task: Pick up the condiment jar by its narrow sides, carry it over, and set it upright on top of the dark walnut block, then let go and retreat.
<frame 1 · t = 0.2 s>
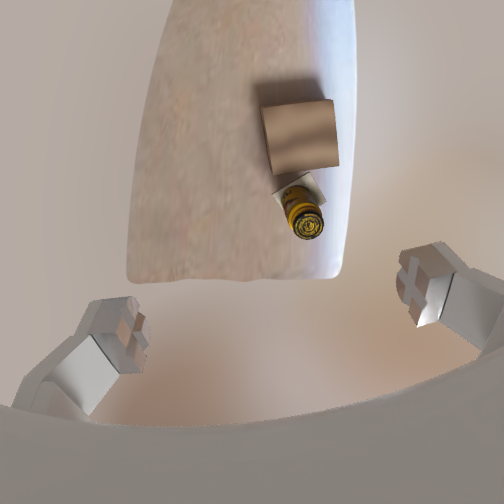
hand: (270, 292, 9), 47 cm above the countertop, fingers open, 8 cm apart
condiment: (299, 197, 58), on the countertop
walnut block: (297, 132, 51), on the countertop
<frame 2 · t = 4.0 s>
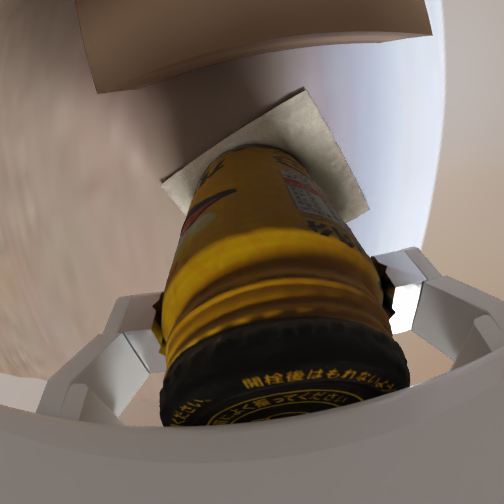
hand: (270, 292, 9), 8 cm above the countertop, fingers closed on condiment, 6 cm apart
condiment: (269, 192, 15), on the countertop, touching gripper
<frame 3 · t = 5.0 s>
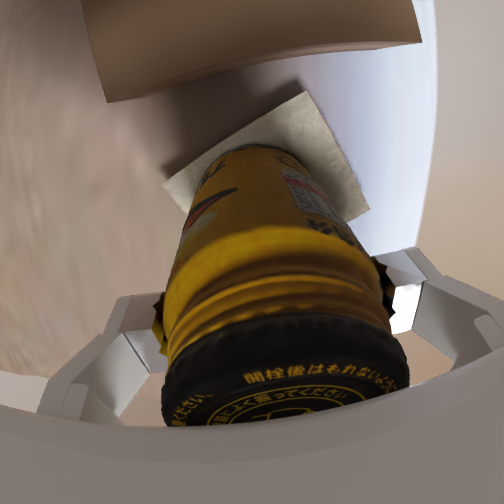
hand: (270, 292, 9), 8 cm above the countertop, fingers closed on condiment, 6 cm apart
condiment: (270, 191, 15), on the countertop, touching gripper
when the fingers open (14 cm above the countertop, at t = 10.4 s): condiment drops 1 cm, point 4 cm above the countertop.
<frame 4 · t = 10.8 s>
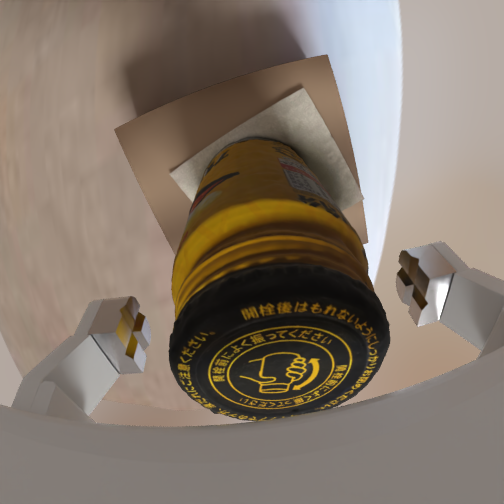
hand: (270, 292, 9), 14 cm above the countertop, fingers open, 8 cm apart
condiment: (270, 181, 16), point 4 cm above the countertop
walnut block: (249, 163, 21), on the countertop
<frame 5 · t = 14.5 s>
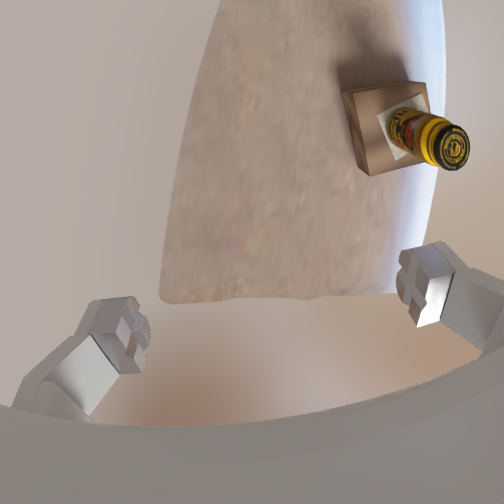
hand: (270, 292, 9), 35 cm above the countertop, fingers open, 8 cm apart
condiment: (407, 126, 35), point 4 cm above the countertop, touching walnut block
walnut block: (383, 122, 39), on the countertop, touching condiment
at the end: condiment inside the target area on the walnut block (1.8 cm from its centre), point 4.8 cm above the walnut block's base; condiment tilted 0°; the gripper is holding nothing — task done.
